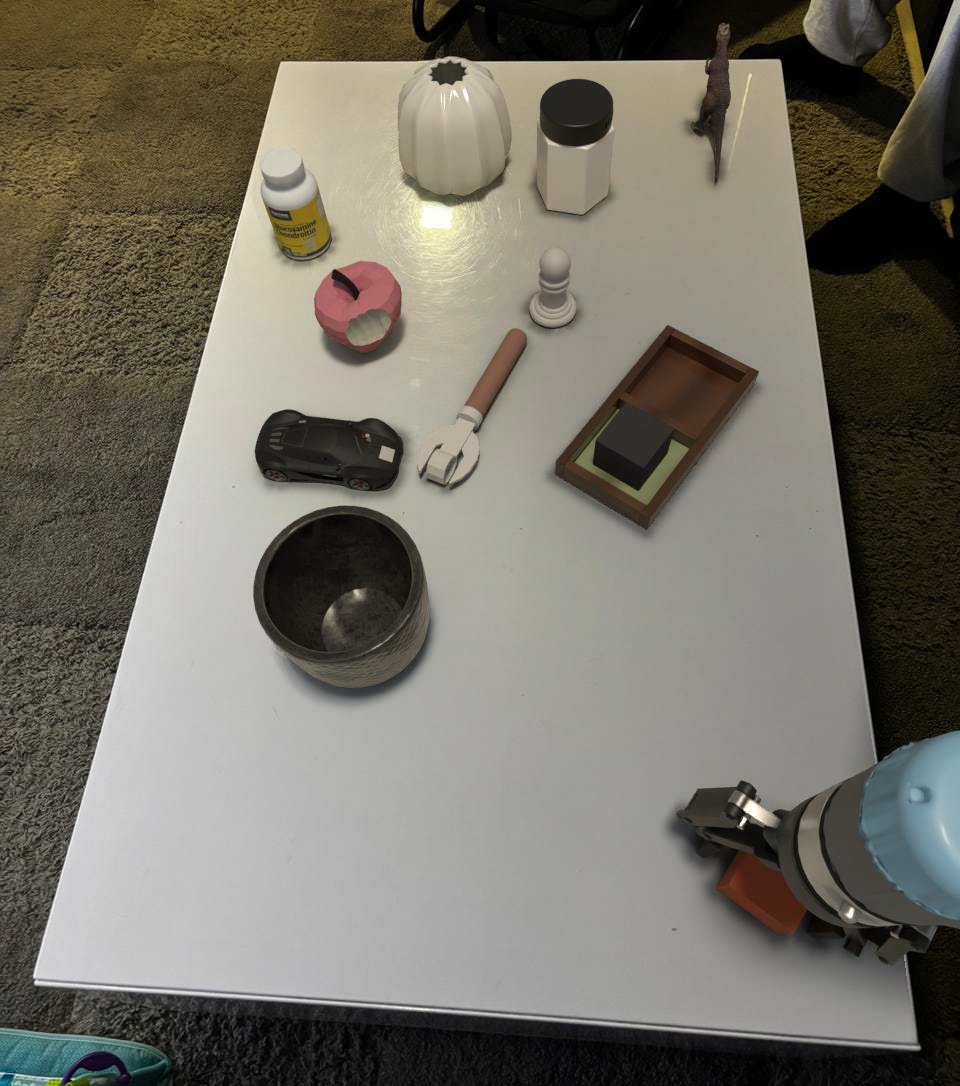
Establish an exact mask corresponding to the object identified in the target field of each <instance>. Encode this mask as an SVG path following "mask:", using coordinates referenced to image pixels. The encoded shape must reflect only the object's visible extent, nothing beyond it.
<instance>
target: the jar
mask: <svg viewBox="0 0 960 1086" xmlns="http://www.w3.org/2000/svg"><path fill="white" fill-rule="evenodd" d="M613 117H614V99H613V95H612V93H611V92H610V91H609V89H608V88H607V87H605V86H604V85H603V84H601V83H599V82H598V81H594V80H591V79H585V78H569V79H563V80H561V81H559V82H556V83H554V84H552V85H551V86H549V87H548V88H547V89H545V91H544V92H543V94H542V96H541V98H540V101H539V117H537V118H536V186H537V189H538V191H539V194H540V197H541V199H542V201H543V204H544V205H545V208H546V210H548V211H554V212H561V213H567V214H573V215H581V216H583V215H585V214H586V213H587V212H589V211H590V210H591V209H592V208H594V207H595V206H596V205H597V204H599V203H600V202H601V201H603V200H604V199H605V198H606V197H608V195H609V187H610V179H611V167H612V158H613V148H614V138H615V126H614V125H613Z"/></svg>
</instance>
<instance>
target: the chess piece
mask: <svg viewBox="0 0 960 1086" xmlns="http://www.w3.org/2000/svg"><path fill="white" fill-rule="evenodd" d="M538 262H539V263H538V265H539V270H540V271H539V273H538V286H539V288H540V289H541V291H539V292H537V293H536V294H535V295H534V296H533V297H532V298H531V300H530V303H529V306H528V310H529V315H530V316H531V318H532V320H533V321H534V322H535V323H536V324H538V325H540V326H543V327H544V328H551V329H552V328H560V327H563V326H565V325H567V324H569V323H571V321H572V320H573V319H574V318H575V316H576V313H577V310H578V309H577V307H578V306H577V302H576V300H575V298H574V296H572V295H571V294H570V293H569V292H568V291H567V290H568V288H569V286H570V284H571V283H570V282H571V280H570V278H571V273H570V270H571V266H572V261H571V257H570V255H569V253H568V252H567V251H566V250H565V249H564V248H562V247H559V246H552V247H549V248H547V249H545V251H543V253H542V254H541V256H540V257H539V261H538Z"/></svg>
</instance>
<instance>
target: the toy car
mask: <svg viewBox="0 0 960 1086" xmlns="http://www.w3.org/2000/svg"><path fill="white" fill-rule="evenodd" d="M255 442H256V443H255V446H254V456H255V463H256V464H257V467H258V468H259V470H260V472H261V474H262V475H264V476H266V477H267V478H269V479H270V480H273V481H275V482H285V481H286V482H296V483H297V482H298V483H299V482H301V483H303V482H305V483H321V484H322V483H324V484H333V485H341V486H345V487H347V488H349V489H352V488H353V489H355V490H358V491H368V490H370V489H371V491H372V492H376V491H384V490H388V489H390V488H391V487H392V486H393V484H394V483H395V482H396V480H397V477H398V475H399V473H400V470H399V465H400V461H401V458H402V457H403V455H404V441H403V438H402V437H401V436H400V435H399V433H397V431H396V430H395V429H393V428H392V427H391V426H390V425H389V424H388V423H386V422H385V421H384V420H381V419H379V418H375V417H367V418H364V419H361V420H358V421H355V420H350V419H348V420H347V419H338V418H329V417H323V416H321V417H320V416H313V415H305V414H304V413H302V412H301V411H298V410H295V409H291V408H286V409H282V410H278V411H275V412H273V413H271V414H270V415H269V417H267V419H265V421H264V423H263V424H262V425H261V429H260V430H259V433H258V436H257V438H256V441H255Z"/></svg>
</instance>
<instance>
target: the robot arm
mask: <svg viewBox="0 0 960 1086" xmlns="http://www.w3.org/2000/svg"><path fill="white" fill-rule="evenodd" d="M757 793H758V790H757V789H756V788H755V786H754V785H753V784H752V783H750V782H748V781H745V780H740V781H739V782H738V783H737V785H736V786H724V787H701V788H697V789H696V791H695V792H694V794H693V795H692V797H691V799H690V801H689V802H688V804H687V805H686V806H685V808H684V810H683V811H682V813H681V814H680V817H681V819H682V820H683V821H684V822H685V823H686V824H688V825H692V826H696V827H697V828H696V830H695V832H696V833H697V835H699V836H700V837H701V838H702V839H703V840H702V841H701V843H700V845H699V847H698V848H697V849H696V853H697V854H698V855H700V856H701V857H702V858H703V859H706V858H707V857H710V856H711V855H713V854H715V853H717V852H719V851H721V850H722V848H723V847H724V846H725V847H729V848H732V849H735V850H737V851H739V850H741V851H744V852H747V853H749V854H752V855H754V856H756V857H757V858H758V859H759V860H760V861H761V862H762V863H763V864H764V865H766V866H767V867H768V868H771V869H774V870H777V871H780V872H782V873H783V876H784V878H785V881H786V883H787V885H788V887H789V888H790V890H791V891H792V893H793V894H794V896H795V897H796V898H797V899H798V901H799V902H800V903H801V904H802V905H803V906H804V907H805V908H806V909H807V911H809V912H810V913H811V914H812V915H814V916H815V917H814V919H813V920H812V922H811V924H810V926H809V928H808V930H807V931H806V934H808V935H809V936H811V938H813V939H814V940H844V942H843V944H842V946H841V948H842V949H844V951H846V952H847V953H848V954H850V955H852V956H854V957H855V958H858V959H859V958H860V956H861V955H862V953H863V950H864V948H865V946H866V945H869V946H871V947H872V948H874V949H875V952H874V956H875V957H876V958H877V959H878V961H879V962H881V963H883V964H884V965H887V966H888V965H889V966H894V965H895V964H896V963H897V962H898V961H900V959H902V958H903V957H904V956H905V955H907V954H908V953H909V952H916V953H921V954H926V953H927V951H928V948H929V947H930V945H931V942H932V940H933V939H934V936H935V934H936V931H937V930H938V928H939V927H940V926H942V927H943V926H944V927H949V928H954V929H957V930H960V730H959V729H958V730H954V731H950V732H946V733H943V734H941V735H937V736H934V737H931V738H928V737H927V738H924V739H920V740H916V741H911V742H907V743H905V744H904V745H901V746H899V747H898V748H896V749H894V750H893V751H891V753H889V754H888V755H886V756H884V757H883V759H882V760H880V761H879V762H877V763H874V765H872V766H870V767H868V768H866V769H865V770H863V771H861V772H860V773H856V774H855V775H853V776H851V777H849V778H847V779H844V780H842V781H840V782H838V783H835V784H833V785H831V786H830V787H828V788H826V789H825V790H822V791H821V792H818V793H816V794H815V795H812V796H811V797H809V798H806V799H805V800H803V801H801V802H800V803H798V804H797V805H795V806H794V807H793V808H792V809H790V810H787V809H785V808H784V809H783V808H778V809H775V810H773V811H772V812H771V811H770V810H769V809H767V808H766V807H764V806H763V805H761V804H760V803H761V802H762V798H761V797H760V796H759V795H757Z"/></svg>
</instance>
